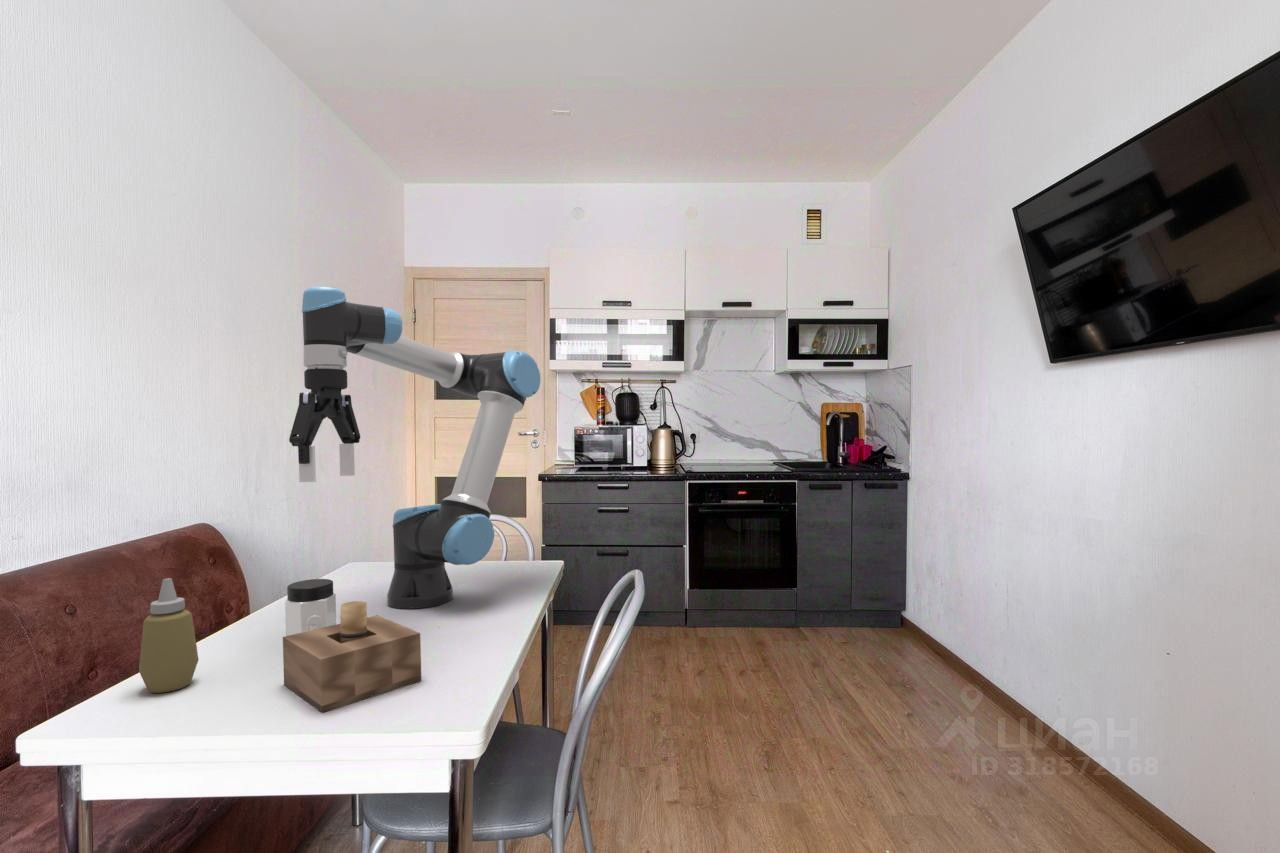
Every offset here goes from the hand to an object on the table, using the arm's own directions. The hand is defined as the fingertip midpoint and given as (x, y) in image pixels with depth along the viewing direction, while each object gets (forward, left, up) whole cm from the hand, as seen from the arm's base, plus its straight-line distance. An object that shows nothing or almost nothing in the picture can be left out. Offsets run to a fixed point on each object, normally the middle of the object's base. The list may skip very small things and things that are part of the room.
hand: (328, 478), depth 128 cm
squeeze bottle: (+26, -1, -33) cm, 42 cm away
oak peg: (+5, +21, -32) cm, 38 cm away
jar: (+2, -5, -33) cm, 33 cm away
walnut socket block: (+5, +21, -33) cm, 39 cm away
